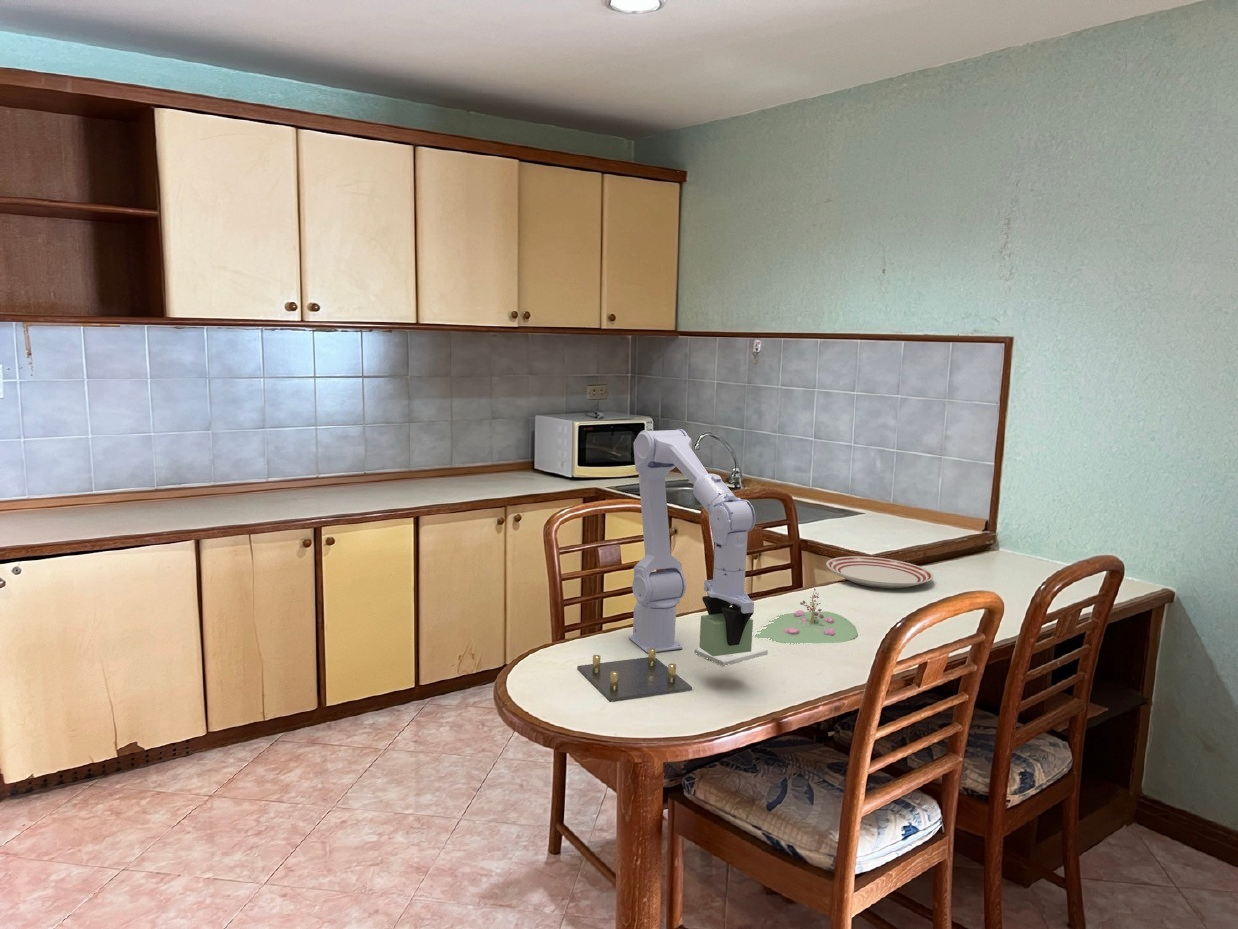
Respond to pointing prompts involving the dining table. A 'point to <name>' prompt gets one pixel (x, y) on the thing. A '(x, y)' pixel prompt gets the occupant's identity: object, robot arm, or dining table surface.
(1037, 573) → the dining table surface
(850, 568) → the dinner plate
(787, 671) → the dining table surface
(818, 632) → the plant
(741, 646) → the board block
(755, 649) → the external hard drive
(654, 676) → the chassis
